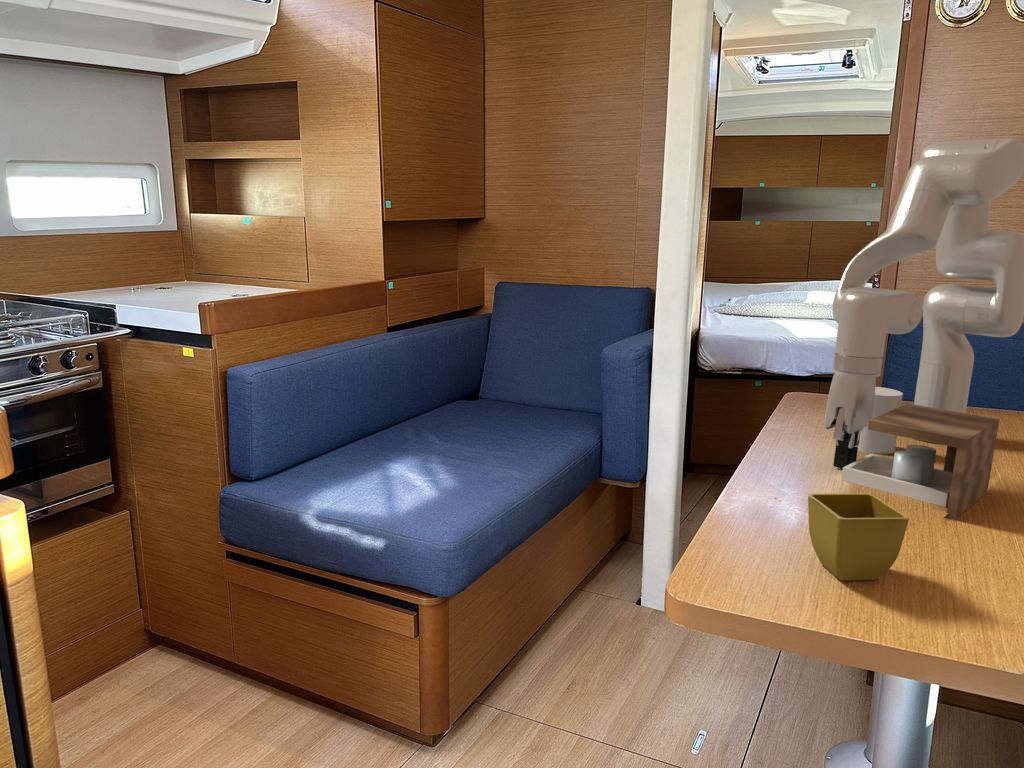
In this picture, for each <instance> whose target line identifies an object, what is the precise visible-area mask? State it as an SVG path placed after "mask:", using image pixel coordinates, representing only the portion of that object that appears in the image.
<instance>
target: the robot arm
mask: <svg viewBox="0 0 1024 768" xmlns="http://www.w3.org/2000/svg"><path fill="white" fill-rule="evenodd" d="M1023 173H1024V143H1023V142H1022V141H1021V140H1019V139H1018V138H1014V137H998V138H997V137H996V138H975V139H972V138H971V139H955V140H954V139H952V140H944V141H943V140H942V141H937V142H934V143H931V144H928V145H927V146H926V147H924V148H923V149H922V151H921V153H920V156H919V159H918V160H916V161H915V162H914V163H912V165H911V166H910V168H909V170H908V172H907V175H906V176H905V178H904V179H905V180H904V182H903V185H902V187H901V190H900V193H899V195H898V198H897V201H896V203H895V207H894V209H893V211H892V215H891V216H890V220H889V223H888V225H887V228H886V230H885V231H884V232H883V233H882V234H880V235H879V236H878V237H876V238H874V239H872V240H871V241H870V242H869V243H868V244H866V246H864V247H863V248H862V249H861V250H860V251H859V252H858V253H856V254H855V256H853V258H852V259H850V261H849V262H848V264H847V266H846V267H845V269H844V270H843V273H842V276H841V278H840V280H839V284H838V285H837V289H836V292H835V295H834V298H833V300H832V301H833V302H832V309H831V310H832V316H833V319H834V321H835V322H836V323H837V332H836V334H837V335H836V343H835V350H834V356H833V357H834V358H833V363H832V364H833V366H832V372H833V373H834V374H833V376H832V380H831V383H830V388H829V392H828V396H827V403H826V408H825V414H824V420H823V427H824V428H825V430H826V429H827V430H830V429H832V428H834V430H833V435H832V440H835V450H834V456H833V457H834V459H833V467H835V468H839V469H842V470H843V467H845V466H847V465H849V464H851V463H853V462H855V461H857V460H858V459H857V458H858V451H859V450H858V447H856V446H858V445H859V441H860V435H861V431H862V430H863V428H865V427H866V426H868V425H869V420H871V419H872V415H873V409H874V400H875V387H877V385H876V384H877V383H876V382H877V378H879V377H880V376H881V374H882V366H883V360H884V359H883V358H884V354H885V353H884V351H885V345H886V336H887V334H890V335H891V334H892V335H904V334H907V333H910V332H912V331H914V329H916V327H918V325H919V324H920V323H921V321H922V322H923V323H922V324H923V325H922V327H923V329H922V330H923V331H922V332H923V334H922V335H923V336H922V345H921V354H920V360H919V368H918V375H917V379H916V380H917V381H916V386H915V395H914V400H913V404H915V405H920V406H926V407H932V408H937V409H943V410H949V411H954V412H960V413H966V412H967V405H968V399H969V394H970V387H971V380H972V377H973V369H974V362H975V353H974V350H973V346H971V343H970V341H969V340H968V339H967V336H966V335H975V336H985V337H990V338H991V337H994V338H1008V337H1012V336H1014V335H1015V334H1017V333H1018V332H1019V330H1020V328H1021V326H1022V325H1023V321H1024V233H1021V232H1018V231H1013V230H991V229H990V225H989V224H990V215H991V214H990V211H991V202H993V201H994V200H995V199H997V198H999V197H1000V196H1002V195H1003V194H1004V193H1005V192H1006V191H1009V189H1011V188H1012V187H1013V186H1015V184H1016V183H1018V181H1020V178H1021V177H1022V175H1023ZM935 246H936V247H935ZM934 248H935V251H936V252H935V266H936V267H935V268H936V270H937V272H938V273H939V274H940V275H942V276H944V277H948V278H955V279H962V280H963V279H964V280H974V281H977V280H978V281H989V282H993V283H994V285H995V287H992V286H983V285H982V286H979V285H972V284H961V283H960V284H957V283H944V284H939V285H936V286H934V287H932V288H930V289H929V290H928V291H927V293H926V294H925V296H924V298H923V303H922V301H921V299H920V298H919V297H918V296H917V295H916V294H915V293H913V292H911V291H907V290H898V289H897V290H896V289H890V288H889V289H888V288H879V287H868V286H866V284H867V283H868V281H869V280H870V279H871V278H872V276H874V275H875V274H876V273H877V272H879V271H880V270H882V269H883V268H886V267H887V266H891V265H892V264H895V263H898V262H901V261H904V260H906V259H910V258H912V257H915V256H918V255H921V254H924V253H926V252H928V251H930V250H932V249H934ZM966 414H967V413H966Z"/></svg>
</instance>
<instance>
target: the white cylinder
mask: <svg viewBox="0 0 1024 768" xmlns="http://www.w3.org/2000/svg"><path fill="white" fill-rule="evenodd" d="M903 395H904V393H903V392H901V390H897V389H893V388H887V387H881V386H876V387H875V400H874V409H873V415H872V419H873V418H876V417H878V416H880V415H882V414H885V413H887V412H889V411H891V410H894V409H896V408H898V407H901V406H902V401H903ZM897 438H898V436H897V435H893V434H888V433H883V432H878V431H873V430H868V426H866V427H865V428H863V430H862V431H861V435H860V441H859V445H858V446H856V447H858V451H859V452H864V453H868V454H874V455H889V454H893V453H895V451H896V445H897Z"/></svg>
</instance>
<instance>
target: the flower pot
mask: <svg viewBox="0 0 1024 768" xmlns="http://www.w3.org/2000/svg"><path fill="white" fill-rule="evenodd" d="M807 510H808V511H807V513H808V514H807V515H808V531H809V537H810V541H811V544H812V548H813V549H814V552H815V555H816V556H817V558H818V561H819V562H820V564H821V565H822V566H823V567H824V568H825V569H826V570H828V571H829V572H830V573H831V574H832V575H833V576H835V578H837V579H838V580H840V581H877V580H879V579H881V578H882V577H883V576H884V575H885V574H886V573H888V571H889V570H890V569H891V568H892V567H893V565H894V563H895V562H896V560H897V558H898V557H899V554H900V552H901V549H902V545H903V542H904V538H905V535H906V531H907V528H908V526H909V525H908V524H909V520H910V517H909V516H908V515H906V514H904V513H903V512H901V511H899V510H897V508H894V507H892V506H891V505H889V504H888V503H886V502H885V501H884V500H882V499H880V498H879V497H878V496H876V495H874V494H872V493H860V492H859V493H853V492H851V493H808V494H807Z"/></svg>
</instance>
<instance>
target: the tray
mask: <svg viewBox="0 0 1024 768" xmlns="http://www.w3.org/2000/svg"><path fill="white" fill-rule="evenodd" d="M893 462H894V458H892V457H891V458H890V457H887V456H882V455H880V454H875V453H868V454H866V455H865V456H863V457H862V458H859V459H856V461H855V462H853V463H851V464H849V465H847V466H845V467H843V469H842V472H841V479H840V480H841V481H843V482H846V483H850V484H853V485H858V486H861V487H865V488H869V489H873V490H877V491H881V492H886V493H889V494H893V495H897V496H900V497H904V498H908V499H912V500H917V501H920V502H922V503H923V502H924V503H927V504H930V505H935V506H940V507H943V508H946V507H948V501H949V495H950V489H951V482H952V476H953V472H949V471H944V469H939V468H935V467H934V469H933V476H932V482H931V486H930V487H926V486H922V485H918V484H914V483H910V482H906V481H902V480H898V479H893V478H891V476H892V469H893Z"/></svg>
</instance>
